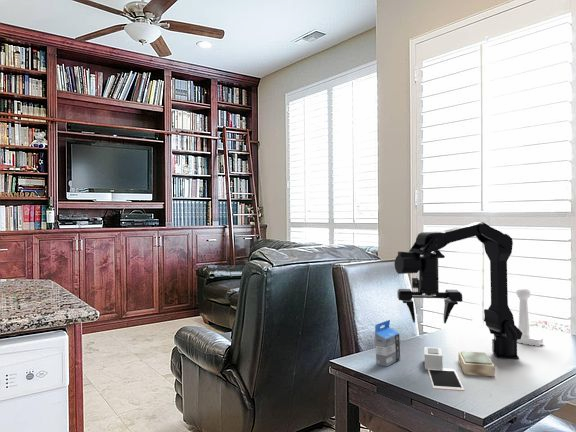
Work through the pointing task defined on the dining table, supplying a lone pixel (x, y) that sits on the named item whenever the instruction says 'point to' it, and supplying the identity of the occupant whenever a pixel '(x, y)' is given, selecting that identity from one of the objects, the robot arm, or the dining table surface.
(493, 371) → the stand
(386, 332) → the label tape box
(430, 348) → the box
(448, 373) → the cell phone
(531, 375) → the dining table surface
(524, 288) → the joystick
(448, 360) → the dining table surface
